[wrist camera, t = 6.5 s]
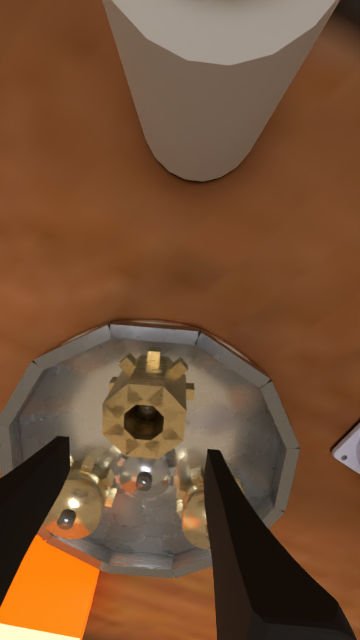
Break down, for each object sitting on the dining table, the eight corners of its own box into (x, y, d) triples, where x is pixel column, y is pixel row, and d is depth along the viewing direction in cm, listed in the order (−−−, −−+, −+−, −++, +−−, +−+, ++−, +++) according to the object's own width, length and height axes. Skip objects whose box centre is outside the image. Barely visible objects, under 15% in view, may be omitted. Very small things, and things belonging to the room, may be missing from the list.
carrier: (343, 420, 20) (385, 462, 16) (183, 583, 25) (183, 648, 21) (102, 256, 18) (76, 254, 13) (-27, 474, 22) (-77, 524, 18)
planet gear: (197, 350, 18) (201, 378, 14) (189, 423, 20) (191, 470, 15) (113, 343, 18) (90, 369, 14) (112, 417, 20) (91, 462, 15)
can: (281, 102, 15) (598, -418, 4) (214, 208, 17) (283, 82, 5) (184, 23, 14) (186, -998, 3) (122, 142, 16) (-46, -190, 4)
